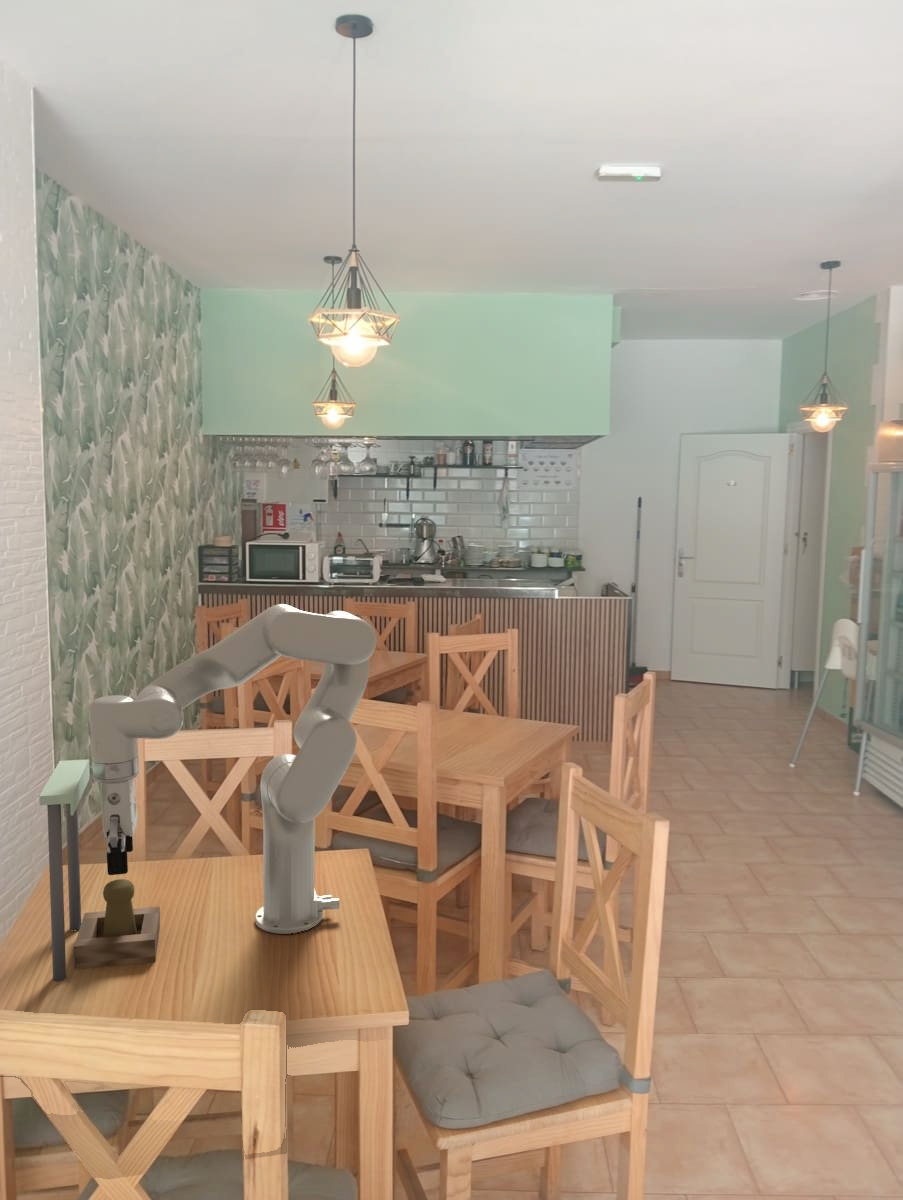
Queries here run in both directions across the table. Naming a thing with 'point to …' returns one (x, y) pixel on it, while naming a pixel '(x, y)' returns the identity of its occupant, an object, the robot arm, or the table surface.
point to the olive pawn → (119, 909)
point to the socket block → (117, 941)
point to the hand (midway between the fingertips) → (120, 862)
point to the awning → (61, 790)
